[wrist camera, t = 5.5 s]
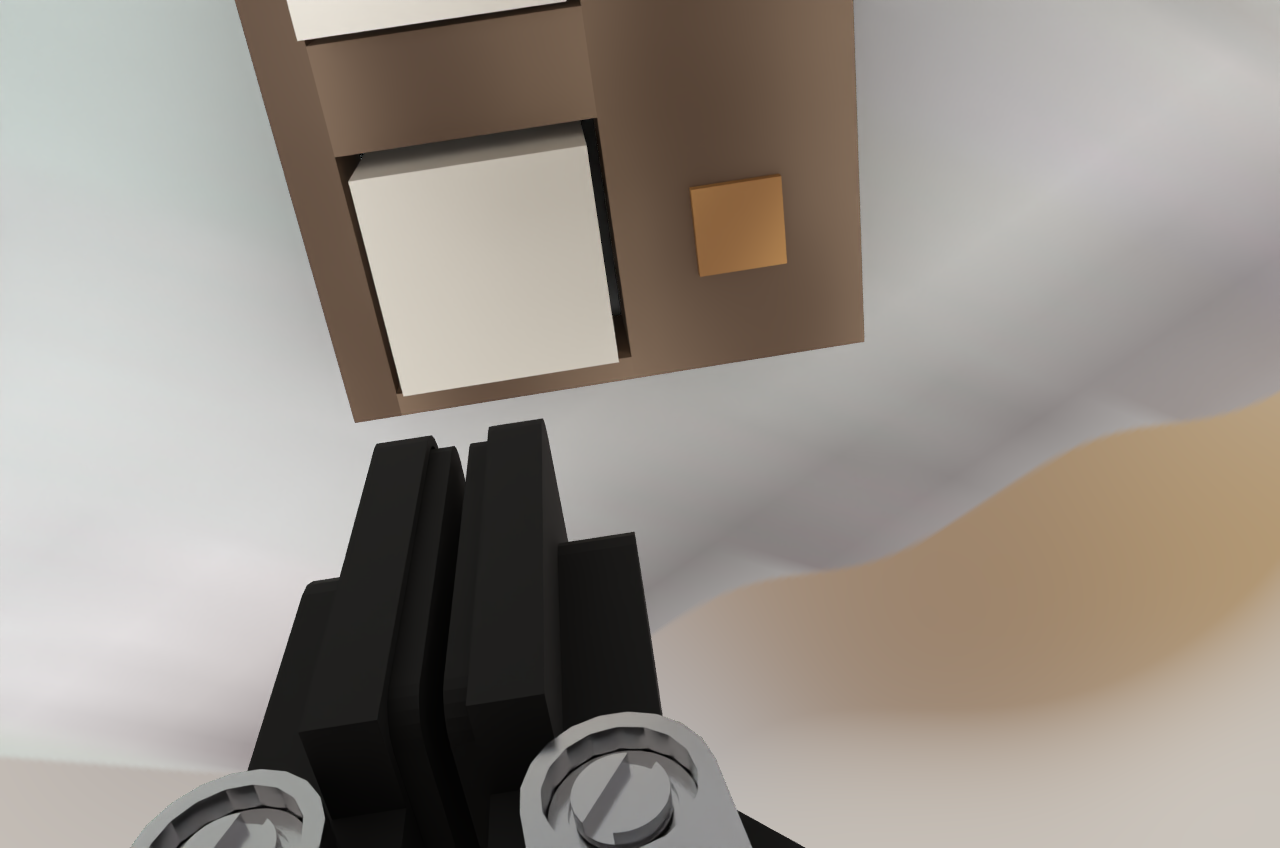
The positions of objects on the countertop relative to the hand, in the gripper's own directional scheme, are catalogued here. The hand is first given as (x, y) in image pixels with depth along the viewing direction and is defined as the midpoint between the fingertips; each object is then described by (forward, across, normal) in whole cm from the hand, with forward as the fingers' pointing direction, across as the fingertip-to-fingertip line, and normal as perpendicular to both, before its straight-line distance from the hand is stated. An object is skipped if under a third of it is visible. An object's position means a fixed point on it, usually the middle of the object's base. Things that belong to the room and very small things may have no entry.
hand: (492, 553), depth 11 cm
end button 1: (+14, +1, +1) cm, 14 cm away
